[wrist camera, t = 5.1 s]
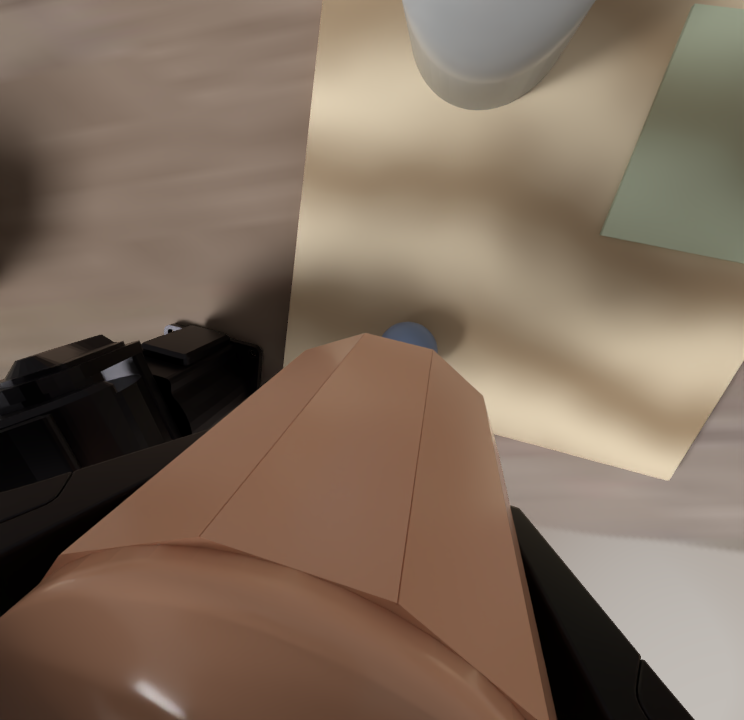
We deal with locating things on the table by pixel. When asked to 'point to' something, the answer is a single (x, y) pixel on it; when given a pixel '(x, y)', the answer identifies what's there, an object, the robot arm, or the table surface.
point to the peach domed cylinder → (299, 566)
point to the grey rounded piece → (489, 45)
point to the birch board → (540, 223)
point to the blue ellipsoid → (412, 335)
